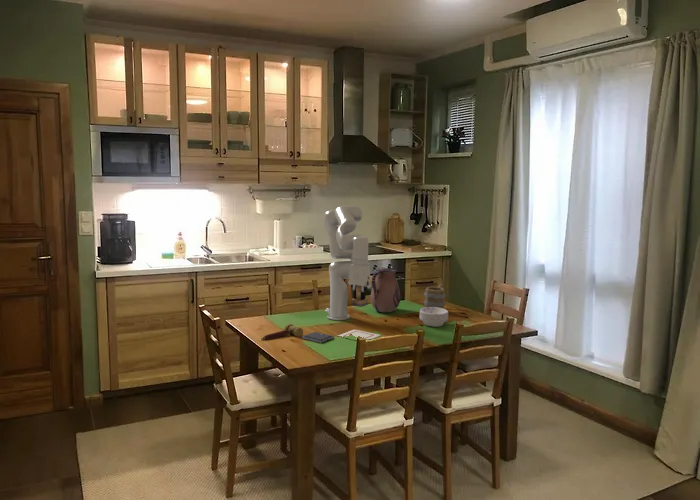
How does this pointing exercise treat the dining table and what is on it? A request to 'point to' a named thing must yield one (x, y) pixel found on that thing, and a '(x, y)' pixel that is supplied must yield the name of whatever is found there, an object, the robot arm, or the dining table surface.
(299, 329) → the gavel
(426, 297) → the tankard
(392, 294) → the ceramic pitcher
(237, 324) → the dining table surface
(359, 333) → the paper sheet
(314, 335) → the ink pad
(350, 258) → the robot arm
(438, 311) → the paper bowls
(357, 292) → the stamp
